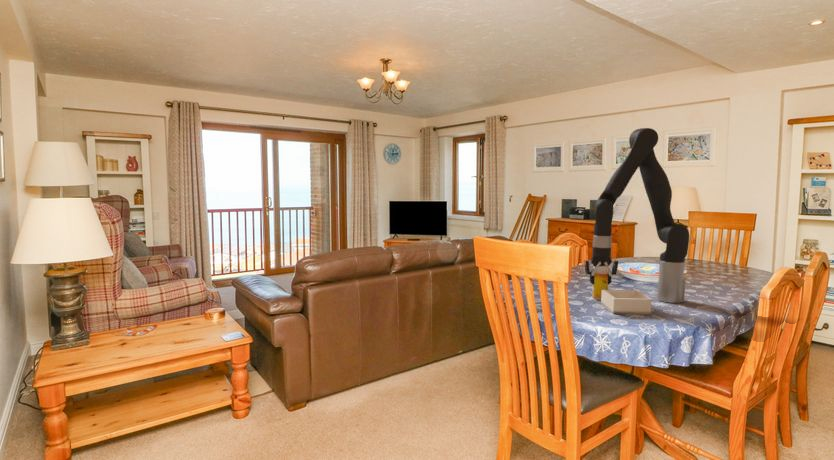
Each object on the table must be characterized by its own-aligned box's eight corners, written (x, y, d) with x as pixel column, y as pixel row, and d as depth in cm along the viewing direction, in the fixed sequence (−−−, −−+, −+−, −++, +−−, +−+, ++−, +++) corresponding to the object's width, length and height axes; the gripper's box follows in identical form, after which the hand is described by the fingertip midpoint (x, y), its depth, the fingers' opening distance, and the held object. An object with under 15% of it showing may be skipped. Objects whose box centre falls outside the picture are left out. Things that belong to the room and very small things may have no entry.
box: (635, 304, 188) (636, 290, 187) (650, 314, 174) (651, 299, 174) (600, 303, 189) (601, 289, 188) (613, 313, 175) (613, 298, 175)
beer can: (608, 301, 193) (610, 266, 192) (593, 300, 195) (594, 266, 193) (605, 297, 199) (607, 263, 197) (590, 296, 200) (592, 263, 199)
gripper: (615, 244, 197) (614, 282, 199) (582, 244, 198) (580, 281, 200) (622, 247, 190) (620, 286, 192) (587, 247, 191) (585, 285, 193)
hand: (600, 283), depth 196 cm, fingers closed on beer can, 6 cm apart
